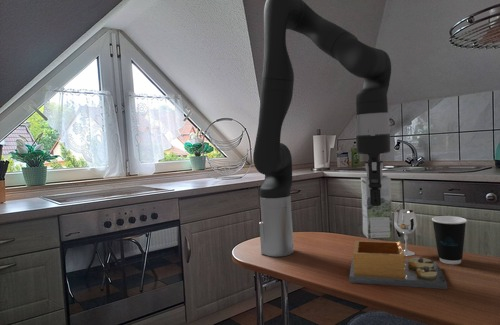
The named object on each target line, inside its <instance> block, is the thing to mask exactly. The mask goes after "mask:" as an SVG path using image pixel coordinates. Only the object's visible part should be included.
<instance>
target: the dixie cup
mask: <svg viewBox="0 0 500 325" xmlns="http://www.w3.org/2000/svg"><path fill="white" fill-rule="evenodd" d="M431 220H432V224H433V231H434V236H435V244H436V249H437V250H436V251H437V256H438V258H439V261H440V262H441V263H443V264H447V265H459V264H461V263H462V260H463V256H464V255H463V254H464V243H465V235H466V234H465V232H466V226H467V225H466V224H467V222H468V220H467V219H466V218H463V217H461V216H455V215H454V216H452V215H440V216H439V215H438V216H433V217H432V218H431Z"/></svg>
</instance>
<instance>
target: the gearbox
mask: <svg viewBox="0 0 500 325" xmlns="http://www.w3.org/2000/svg"><path fill="white" fill-rule="evenodd" d="M353 245H354V246H353V254H352V258H351V259H352V260H351V263H350V264H351V265H350V271H349V278H348V279H349V283H350V284H351V283H352V284H354V283H355V284H364V285H365V284H368V285H383V286H396V287H398V286H399V287H412V288H425V289H427V288H428V289H441V290H442V289H443V290H447V289H448V282H447V280H446V278H445V276H444V274H443V271H442V269H441V268H440V266H439V265H438V262H437V261H434V260H431V259H429V258H426V257H425V258H424V257H420V256H419V257H411V258H409V259H406V257H405V255H404V252H403V251H404V249H403V245H402V241H390V240H389V241H387V240H386V241H384V240H383V241H382V240H354V244H353Z"/></svg>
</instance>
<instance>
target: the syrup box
mask: <svg viewBox="0 0 500 325" xmlns="http://www.w3.org/2000/svg"><path fill="white" fill-rule="evenodd" d="M382 176H383V178H382V180H381V190H380V195H381V205H380V206H372V205H371V199H370V188H369V180H368V179H367V176H361V177H360V192H361V216H362V218H361V219H362V220H361V221H362V233H363V235H364V236H365V237H366V239H368V240H385V239H387V240H388V239H389V240H390V239H391V240H392V239H393V214H392V211H393V210H392V207H393V206H392V204H393V203H392V179H391V177H389V176H387V175H382ZM371 183H378V180H372V181H371ZM378 190H379V189H378Z"/></svg>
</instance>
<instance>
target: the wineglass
mask: <svg viewBox="0 0 500 325" xmlns="http://www.w3.org/2000/svg"><path fill="white" fill-rule="evenodd" d="M393 225H394V228H395V230H396V231H397V232H399V233H400V234H403V239H404V249H403V252H404V255H405V256H406V257H411V256H415V255H416V252H414V251H411V250H409V249H408V239H409V238H408V237H409V236H408V235H409V234H412V233H414V232H415V230H416V228H417V217H416V214H415V211H414V210H412V209H405V208H404V209H397V210H395V213H394V219H393Z"/></svg>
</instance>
